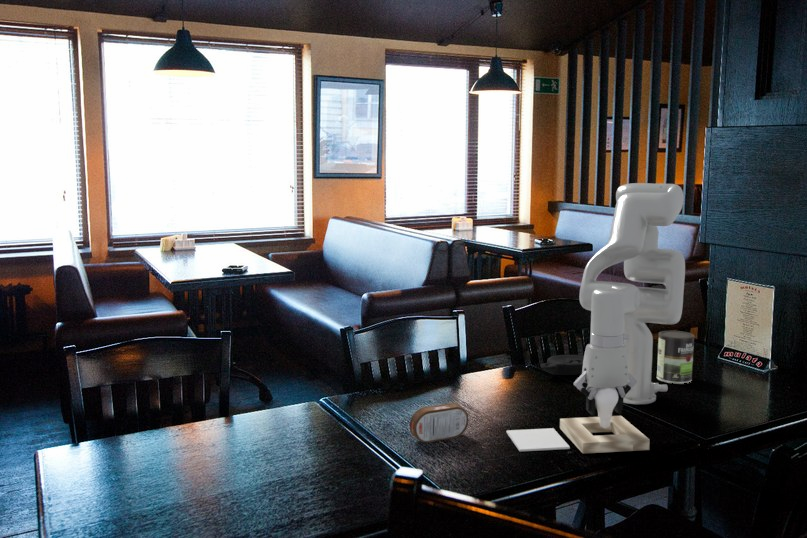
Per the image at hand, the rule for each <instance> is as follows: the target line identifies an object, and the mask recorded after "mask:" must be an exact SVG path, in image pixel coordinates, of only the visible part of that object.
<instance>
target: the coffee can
mask: <svg viewBox="0 0 807 538" xmlns="http://www.w3.org/2000/svg"><path fill="white" fill-rule="evenodd" d="M694 345H695V334H693V333H692V332H688V331H682V330H681V331H680V330H662V331H659V332H658V343H657V363H656V364H657V366H656V367H657V370H656V379H657V380H658V381H660V382H664V383H668V384H672V383H673V384H674V385H685V384H684V383H687V384H690V383H692V382H691V381H693V366H694V365H693V364H694V349H695V348H694V347H695V346H694ZM689 382H690V383H689Z"/></svg>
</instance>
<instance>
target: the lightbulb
mask: <svg viewBox="0 0 807 538" xmlns="http://www.w3.org/2000/svg"><path fill="white" fill-rule="evenodd" d="M594 399H595V409H596V410H597V417H599V422H600V423H599V424H600V426H602V427H603V428H607V427H609V426H610V422H611V418H612V416H613V412H614V407H615V406H616V404H617V402H618V393H617V390H616V389H615V388H614V387H612V388H597V390H596V392H595V395H594Z"/></svg>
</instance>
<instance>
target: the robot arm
mask: <svg viewBox="0 0 807 538" xmlns="http://www.w3.org/2000/svg"><path fill="white" fill-rule="evenodd" d="M615 201H616V204H615V208H614V212H613V213H614V214H613V217H612V224H611V228H610V231H609V237H608V243H606V245H605V246H603V247H601V249H599V250H598V251H597V252H596V253H595V254H594V255H593V256H592V257H591V258H590V259H589V261H588V262H587V264H586V265H585V268H584V270H583V275H582V278H581V279H582V280H581V283H580V288H579V304H580V305H581V307H582V308H583V309H585V310H587V311H589V312H591V313H590V339H589V341H590V342H589V343H588V344H586V346H585V349H584V350H585V351H584V354H583V356H584V360H583V368H582V374H579V375H578V376H579V377H577V378H576V379H575V381H574V382H573V386H574V387H576V389H577V390H579V391H580V392H581V393H582V394H583V395H584V396H585V398H586V399H585V410H586V411H587V412H588V414H590V416H591V417H594V416H595V415H596V406H595V399H594V395H595V392H596V390H597V388H612V387H614V388H615V389H616V390H617V393H618V402H617V404H616V406H615V407H614V409H613V411H615V412H616V413H617V414H619V415H622V413H623V412H622V411H623V409H624V404H628V405H649V404H652V403H654V402H656V400H657V395H656V394H657V393H658V392H667V391H668V389H669V388H668V387H669V386H668V384H666V383H665V384H659V382H653V381H652V373H653V371H652V370H653V369H652V368H653V349H654V348H653V347H654V345H653V344H654V338H653V333H652V332H651V330H650V329H649V327H648V326H647V323H650V324H660V325H675V324H677V323H679V322H680V320H681V318H682V315H683V305H684V292H685V291H684V290H685V279H686V277H685V276H686V261H685V257H684V254H683V253H682V252H681V251H679V250H676V249H670V248H660V247H658V244H659V228H658V227H669V226H671V225H672V224H674V222H675V220H676V219H677V217H678V215H680V213H681V212H682V209H683V206H684V191H683V189H682V187H681V186H679V184H677V183H675V184H674V183H648V182H646V183H645V182H644V183H643V182H635V183H626V184H622V185H619V186H618V188H617V190H616V192H615ZM622 262H623V273H624V276H625V278H626V279H627V280H629V281H631V282H637V283H646V284H647V283H648V284H649V283H650V284H662V285H664V287H665V288H657V287H644V286H636V285H634V284H632V283H626V282H617V281H605V280H597V278H598V276H600V274H601V272H603V271H605V269H607V268H609V267H611V266H614V265H617V264H619V263H622ZM584 383H585V384H587V386H586V388H585V387H584V385H583V384H584Z"/></svg>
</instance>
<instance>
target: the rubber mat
mask: <svg viewBox="0 0 807 538" xmlns="http://www.w3.org/2000/svg"><path fill="white" fill-rule="evenodd" d="M506 434H507V435H508V437H509V438H510V440H511V442H512V443H513V444H514V446H515V447H516V448H517V450H518V451H519V452H534V451H535V452H536V451H553V450H570V449H571V447H570V445H569V444H568V443H567V442H566V441H565V439H564V438H563V437H562V436H561V435H560V434H559V433H558V431H556V429H555V428H554V427H552V428H551V427H550V428H534V429H533V428H531V429H511V430H509V429H507V430H506Z"/></svg>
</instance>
